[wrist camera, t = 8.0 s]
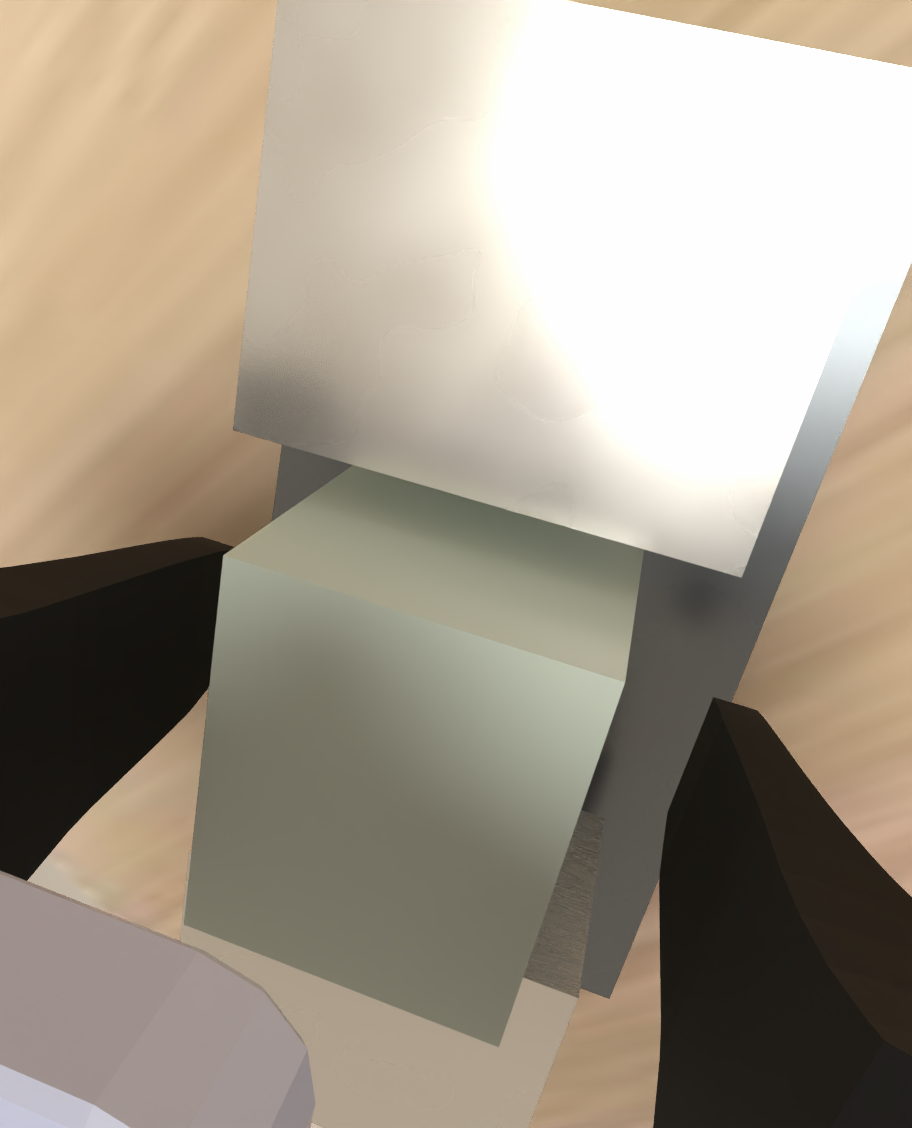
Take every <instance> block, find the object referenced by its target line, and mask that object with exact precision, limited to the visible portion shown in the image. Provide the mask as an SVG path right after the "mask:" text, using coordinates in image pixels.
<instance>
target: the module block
mask: <svg viewBox="0 0 912 1128" xmlns="http://www.w3.org/2000/svg"><path fill="white" fill-rule="evenodd" d="M643 554H644V549H641V548H638V547H634V546H631V545H627V544H624V543H620V542H617V541H613V540H610V539H607V538H603V537H600V536H596V535H593V534H589V533H586V532H582V531H579V530H575V529H572V528H569V527H565V526H562V525H558V524H555V523H551V522H548V521H544V520H541V519H538V518H534V517H531V516H527V515H524V514H520V513H517V512H513V511H510V510H507V509H503V508H500V507H496V506H493V505H489V504H486V503H482V502H479V501H476V500H472V499H469V498H465V497H462V496H458V495H455V494H451V493H448V492H444V491H441V490H438V489H434V488H431V487H427V486H424V485H420V484H417V483H413V482H410V481H407V480H403V479H400V478H396V477H393V476H389V475H386V474H382V473H379V472H376V471H372V470H369V469H365V468H362V467H358V466H355V465H353V466H351V467H350V468H348V469H347V470H346V471H344V472H343V473H341V474H340V475H338V476H337V477H335V478H334V479H333V480H331V481H330V482H328V483H327V484H325V485H324V486H322V487H321V488H320V489H318V490H317V491H315V492H314V493H312V494H311V495H309V496H308V497H307V498H305V499H304V500H302V501H301V502H299V503H298V504H297V505H295V506H294V507H292V508H291V509H289V510H288V511H286V512H285V513H284V514H282V515H281V516H279V517H278V518H276V519H275V520H273V521H272V522H271V523H269V524H268V525H266V526H265V527H263V528H262V529H260V530H259V531H258V532H256V533H255V534H253V535H252V536H250V537H249V538H247V539H246V540H245V541H243V542H242V543H240V544H239V545H237V546H236V547H235V548H233V549H232V550H230V551H229V552H227V553H226V554H224V555H223V562H222V572H221V581H220V590H219V600H218V609H217V619H216V628H215V637H214V647H213V656H212V665H211V675H210V684H209V693H208V703H207V712H206V721H205V731H204V740H203V749H202V759H201V768H200V777H199V787H198V796H197V805H196V815H195V824H194V833H193V843H192V852H191V861H190V871H189V880H188V889H187V899H186V908H185V917H184V925H186V926H189V927H191V928H194V929H196V930H199V931H202V932H204V933H207V934H209V935H212V936H214V937H217V938H219V939H222V940H225V941H227V942H230V943H232V944H235V945H237V946H240V947H243V948H245V949H248V950H250V951H253V952H255V953H258V954H260V955H263V956H266V957H268V958H271V959H273V960H276V961H278V962H281V963H284V964H286V965H289V966H291V967H294V968H296V969H299V970H301V971H304V972H307V973H309V974H312V975H314V976H317V977H319V978H322V979H324V980H327V981H330V982H332V983H335V984H337V985H340V986H342V987H345V988H348V989H350V990H353V991H355V992H358V993H360V994H363V995H365V996H368V997H371V998H373V999H376V1000H378V1001H381V1002H383V1003H386V1004H389V1005H391V1006H394V1007H396V1008H399V1009H401V1010H404V1011H406V1012H409V1013H412V1014H414V1015H417V1016H419V1017H422V1018H424V1019H427V1020H430V1021H432V1022H435V1023H437V1024H440V1025H442V1026H445V1027H447V1028H450V1029H453V1030H455V1031H458V1032H460V1033H463V1034H465V1035H468V1036H471V1037H473V1038H476V1039H478V1040H481V1041H483V1042H486V1043H488V1044H491V1045H494V1046H496V1047H499V1045H500V1043H501V1040H502V1037H503V1034H504V1031H505V1028H506V1025H507V1022H508V1019H509V1017H510V1014H511V1011H512V1008H513V1005H514V1002H515V999H516V996H517V993H518V991H519V988H520V985H521V982H522V979H523V976H524V973H525V970H526V967H527V965H528V962H529V959H530V956H531V953H532V950H533V947H534V944H535V941H536V939H537V936H538V933H539V930H540V927H541V924H542V921H543V918H544V915H545V913H546V910H547V907H548V904H549V901H550V898H551V895H552V892H553V889H554V887H555V884H556V881H557V878H558V875H559V872H560V869H561V866H562V863H563V861H564V858H565V855H566V852H567V849H568V846H569V843H570V840H571V837H572V835H573V832H574V829H575V826H576V823H577V820H578V817H579V814H580V811H581V809H582V806H583V803H584V800H585V797H586V794H587V791H588V788H589V785H590V783H591V780H592V777H593V774H594V771H595V768H596V765H597V762H598V759H599V757H600V754H601V751H602V748H603V745H604V742H605V739H606V736H607V733H608V731H609V728H610V725H611V722H612V719H613V716H614V713H615V710H616V707H617V705H618V702H619V699H620V696H621V693H622V690H623V687H624V684H625V680H626V673H627V666H628V659H629V652H630V645H631V638H632V631H633V624H634V617H635V610H636V603H637V596H638V589H639V582H640V575H641V568H642V561H643Z"/></svg>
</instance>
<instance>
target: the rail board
mask: <svg viewBox="0 0 912 1128" xmlns="http://www.w3.org/2000/svg"><path fill="white" fill-rule="evenodd" d="M911 262H912V68H909V67H904V66H899V65H894V64H889V63H883V62H878V61H873V60H868V59H863V58H858V57H853V56H847V55H842V54H837V53H832V52H827V51H822V50H817V49H812V48H806V47H801V46H796V45H791V44H786V43H781V42H776V41H770V40H765V39H760V38H755V37H750V36H745V35H740V34H734V33H729V32H724V31H719V30H714V29H709V28H704V27H698V26H693V25H688V24H683V23H678V22H673V21H668V20H663V19H657V18H652V17H647V16H642V15H637V14H632V13H627V12H621V11H616V10H611V9H606V8H601V7H596V6H591V5H585V4H580V3H575V2H570V1H565V0H278V3H277V12H276V22H275V32H274V41H273V51H272V60H271V70H270V80H269V89H268V99H267V109H266V118H265V128H264V137H263V147H262V157H261V166H260V176H259V185H258V195H257V205H256V214H255V224H254V234H253V243H252V253H251V262H250V272H249V282H248V291H247V301H246V311H245V320H244V330H243V339H242V349H241V359H240V368H239V378H238V387H237V397H236V407H235V416H234V426H233V430H234V431H238V432H241V433H245V434H248V435H251V436H255V437H258V438H262V439H265V440H269V441H272V442H276V443H279V444H282V448H281V456H280V464H279V471H278V479H277V487H276V495H275V502H274V510H273V518H272V521H273V520H275V519H276V518H278V517H279V516H281V515H282V514H284V513H285V512H286V511H288V510H289V509H291V508H292V507H294V506H295V505H297V504H298V503H299V502H301V501H302V500H304V499H305V498H307V497H308V496H309V495H311V494H312V493H314V492H315V491H317V490H318V489H320V488H321V487H322V486H324V485H325V484H327V483H328V482H330V481H331V480H333V479H334V478H335V477H337V476H338V475H340V474H341V473H343V472H344V471H346V470H347V469H348V468H350V467H351V466H353V465H355V466H358V467H362V468H365V469H369V470H372V471H376V472H379V473H382V474H386V475H389V476H393V477H396V478H400V479H403V480H407V481H410V482H413V483H417V484H420V485H424V486H427V487H431V488H434V489H438V490H441V491H444V492H448V493H451V494H455V495H458V496H462V497H465V498H469V499H472V500H476V501H479V502H482V503H486V504H489V505H493V506H496V507H500V508H503V509H507V510H510V511H513V512H517V513H520V514H524V515H527V516H531V517H534V518H538V519H541V520H544V521H548V522H551V523H555V524H558V525H562V526H565V527H569V528H572V529H575V530H579V531H582V532H586V533H589V534H593V535H596V536H600V537H603V538H607V539H610V540H613V541H617V542H620V543H624V544H627V545H631V546H634V547H638V548H641V549H644V554H643V561H642V568H641V575H640V582H639V589H638V596H637V603H636V610H635V617H634V624H633V631H632V638H631V645H630V652H629V659H628V666H627V673H626V680H625V684H624V687H623V690H622V693H621V696H620V699H619V702H618V705H617V707H616V710H615V713H614V716H613V719H612V722H611V725H610V728H609V731H608V733H607V736H606V739H605V742H604V745H603V748H602V751H601V754H600V757H599V759H598V762H597V765H596V768H595V771H594V774H593V777H592V780H591V783H590V785H589V788H588V791H587V794H586V797H585V800H584V803H583V806H582V809H581V811H580V814H579V817H578V820H577V823H576V826H575V829H574V832H573V835H572V837H571V840H570V843H569V846H568V849H567V852H566V855H565V858H564V861H563V863H562V866H561V869H560V872H559V875H558V878H557V881H556V884H555V887H554V889H553V892H552V895H551V898H550V901H549V904H548V907H547V910H546V913H545V915H544V918H543V921H542V924H541V927H540V930H539V933H538V936H537V939H536V941H535V944H534V947H533V950H532V953H531V956H530V959H529V962H528V965H527V967H526V970H525V973H524V976H523V979H522V982H521V985H520V988H519V991H518V993H517V996H516V999H515V1002H514V1005H513V1008H512V1011H511V1014H510V1017H509V1019H508V1022H507V1025H506V1028H505V1031H504V1034H503V1037H502V1040H501V1043H500V1045H499V1047H496V1046H494V1045H491V1044H488V1043H486V1042H483V1041H481V1040H478V1039H476V1038H473V1037H471V1036H468V1035H465V1034H463V1033H460V1032H458V1031H455V1030H453V1029H450V1028H447V1027H445V1026H442V1025H440V1024H437V1023H435V1022H432V1021H430V1020H427V1019H424V1018H422V1017H419V1016H417V1015H414V1014H412V1013H409V1012H406V1011H404V1010H401V1009H399V1008H396V1007H394V1006H391V1005H389V1004H386V1003H383V1002H381V1001H378V1000H376V999H373V998H371V997H368V996H365V995H363V994H360V993H358V992H355V991H353V990H350V989H348V988H345V987H342V986H340V985H337V984H335V983H332V982H330V981H327V980H324V979H322V978H319V977H317V976H314V975H312V974H309V973H307V972H304V971H301V970H299V969H296V968H294V967H291V966H289V965H286V964H284V963H281V962H278V961H276V960H273V959H271V958H268V957H266V956H263V955H260V954H258V953H255V952H253V951H250V950H248V949H245V948H243V947H240V946H237V945H235V944H232V943H230V942H227V941H225V940H222V939H219V938H217V937H214V936H212V935H209V934H207V933H204V932H202V931H199V930H196V929H194V928H191V927H189V926H186V925H184V917H185V908H186V899H187V889H188V880H189V871H190V861H191V852H192V850H191V851H190V852H189V859H188V868H187V878H186V888H185V897H184V907H183V917H182V926H181V936H180V941H181V942H183V943H186V944H188V945H191V946H193V947H196V948H198V949H201V950H204V951H206V952H207V953H209V954H211V955H212V956H214V957H215V958H217V959H219V960H220V961H222V962H223V963H225V964H227V965H228V966H230V967H232V968H233V969H235V970H236V971H238V972H240V973H241V974H243V975H245V976H246V977H248V978H249V979H251V980H253V981H254V982H256V983H257V984H259V985H261V986H262V987H263V988H264V989H265V990H266V992H267V993H268V994H269V996H270V997H271V998H272V999H273V1001H274V1002H275V1003H276V1005H277V1006H278V1007H279V1009H280V1010H281V1011H282V1013H283V1014H284V1015H285V1017H286V1018H287V1019H288V1020H289V1022H290V1023H291V1024H292V1026H293V1027H294V1028H295V1030H296V1031H297V1032H298V1034H299V1035H300V1036H301V1038H302V1040H303V1042H304V1044H305V1045H306V1047H307V1049H308V1056H309V1062H310V1069H311V1076H312V1083H313V1090H314V1096H315V1103H316V1104H315V1108H314V1113H313V1117H312V1123H315V1124H317V1125H319V1126H322V1127H324V1128H528V1127H529V1124H530V1122H531V1119H532V1117H533V1114H534V1111H535V1109H536V1106H537V1104H538V1101H539V1099H540V1096H541V1093H542V1091H543V1088H544V1086H545V1083H546V1080H547V1078H548V1075H549V1073H550V1070H551V1068H552V1065H553V1062H554V1060H555V1057H556V1055H557V1052H558V1050H559V1047H560V1044H561V1042H562V1039H563V1037H564V1034H565V1032H566V1029H567V1026H568V1024H569V1021H570V1019H571V1016H572V1013H573V1011H574V1008H575V1006H576V1003H577V1001H578V998H579V991H580V988H582V989H584V990H587V991H590V992H592V993H595V994H598V995H600V996H603V997H606V998H609V999H610V996H611V994H612V992H613V989H614V987H615V984H616V982H617V979H618V977H619V974H620V972H621V970H622V967H623V965H624V962H625V960H626V957H627V955H628V952H629V950H630V948H631V945H632V943H633V940H634V938H635V935H636V933H637V931H638V928H639V926H640V923H641V921H642V918H643V916H644V913H645V911H646V909H647V906H648V904H649V901H650V899H651V896H652V894H653V892H654V889H655V887H656V884H657V882H658V879H659V877H660V866H661V857H662V849H663V841H664V834H665V826H666V819H667V812H668V810H669V807H670V805H671V802H672V799H673V797H674V794H675V792H676V789H677V787H678V784H679V782H680V779H681V777H682V774H683V772H684V769H685V767H686V764H687V762H688V759H689V757H690V754H691V752H692V749H693V747H694V744H695V742H696V739H697V737H698V734H699V732H700V729H701V727H702V724H703V722H704V719H705V717H706V714H707V712H708V709H709V707H710V704H711V702H712V699H713V697H715V698H718V699H722V700H725V701H728V702H731V701H732V699H733V696H734V694H735V691H736V689H737V687H738V684H739V682H740V679H741V677H742V674H743V672H744V670H745V667H746V665H747V662H748V660H749V657H750V655H751V652H752V650H753V648H754V645H755V643H756V640H757V638H758V635H759V633H760V631H761V628H762V626H763V623H764V621H765V618H766V616H767V613H768V611H769V609H770V606H771V604H772V601H773V599H774V596H775V594H776V591H777V589H778V587H779V584H780V582H781V579H782V577H783V574H784V572H785V570H786V567H787V565H788V562H789V560H790V557H791V555H792V552H793V550H794V548H795V545H796V543H797V540H798V538H799V535H800V533H801V531H802V528H803V526H804V523H805V521H806V518H807V516H808V513H809V511H810V509H811V506H812V504H813V501H814V499H815V496H816V494H817V491H818V489H819V487H820V484H821V482H822V479H823V477H824V474H825V472H826V470H827V467H828V465H829V462H830V460H831V457H832V455H833V452H834V450H835V448H836V445H837V443H838V440H839V438H840V435H841V433H842V431H843V428H844V426H845V423H846V421H847V418H848V416H849V413H850V411H851V409H852V406H853V404H854V401H855V399H856V396H857V394H858V391H859V389H860V387H861V384H862V382H863V379H864V377H865V374H866V372H867V370H868V367H869V365H870V362H871V360H872V357H873V355H874V352H875V350H876V348H877V345H878V343H879V340H880V338H881V335H882V333H883V330H884V328H885V326H886V323H887V321H888V318H889V316H890V313H891V311H892V309H893V306H894V304H895V301H896V299H897V296H898V294H899V291H900V289H901V287H902V284H903V282H904V279H905V277H906V274H907V272H908V270H909V267H910V265H911Z"/></svg>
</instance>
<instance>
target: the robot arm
mask: <svg viewBox="0 0 912 1128" xmlns="http://www.w3.org/2000/svg"><path fill="white" fill-rule="evenodd" d="M233 548H235V547H232V546H229V545H226V544H223V543H219V542H216V541H213V540H210V539H207V538H203V537H196V538H182V539H175V540H168V541H161V542H156V543H150V544H144V545H139V546H133V547H128V548H122V549H117V550H111V551H106V552H100V553H95V554H89V555H84V556H78V557H72V558H65V559H59V560H52V561H45V562H39V563H32V564H26V565H19V566H12V567H4V568H0V1128H310V1127H311V1122H312V1117H313V1113H314V1108H315V1104H316V1103H315V1096H314V1090H313V1083H312V1076H311V1069H310V1062H309V1056H308V1049H307V1047H306V1045H305V1044H304V1042H303V1040H302V1038H301V1036H300V1035H299V1034H298V1032H297V1031H296V1030H295V1028H294V1027H293V1026H292V1024H291V1023H290V1022H289V1020H288V1019H287V1018H286V1017H285V1015H284V1014H283V1013H282V1011H281V1010H280V1009H279V1007H278V1006H277V1005H276V1003H275V1002H274V1001H273V999H272V998H271V997H270V996H269V994H268V993H267V992H266V990H265V989H264V988H263V987H262V986H261V985H259V984H257V983H256V982H254V981H253V980H251V979H249V978H248V977H246V976H245V975H243V974H241V973H240V972H238V971H236V970H235V969H233V968H232V967H230V966H228V965H227V964H225V963H223V962H222V961H220V960H219V959H217V958H215V957H214V956H212V955H211V954H209V953H207V952H206V951H204V950H201V949H198V948H196V947H193V946H191V945H188V944H186V943H183V942H181V941H178V940H176V939H173V938H171V937H168V936H165V935H163V934H160V933H158V932H155V931H153V930H150V929H148V928H145V927H142V926H140V925H137V924H135V923H132V922H130V921H127V920H125V919H122V918H120V917H117V916H114V915H112V914H109V913H107V912H104V911H102V910H99V909H97V908H94V907H92V906H89V905H86V904H84V903H81V902H79V901H76V900H74V899H71V898H69V897H66V896H63V895H61V894H58V893H56V892H53V891H51V890H48V889H46V888H43V887H41V886H38V885H35V884H33V883H30V882H28V881H27V880H28V879H29V878H30V877H31V875H32V874H33V873H34V872H35V871H36V869H37V868H38V867H39V866H40V865H41V863H42V862H43V861H44V860H45V859H46V857H47V856H48V855H49V854H50V853H51V851H52V850H53V849H54V848H55V847H56V845H57V844H58V843H59V842H60V841H61V839H62V838H63V837H64V836H65V835H66V833H67V832H68V831H69V830H70V829H71V828H72V827H73V826H74V825H75V824H76V823H77V822H78V821H79V820H80V818H81V817H82V816H83V815H84V814H85V813H86V812H87V811H88V810H89V809H90V808H91V807H92V806H93V805H94V804H95V803H96V802H97V801H98V800H99V799H100V798H101V797H102V796H103V795H104V794H106V793H107V792H108V791H109V790H110V789H111V788H112V787H113V786H114V785H115V784H116V783H117V782H118V781H119V780H120V779H121V778H122V777H123V776H124V775H125V774H126V773H127V772H128V771H129V770H130V769H131V768H132V767H134V766H135V765H136V764H137V763H138V762H139V761H140V760H141V759H142V758H143V757H144V756H145V755H146V754H147V753H148V752H149V751H150V750H151V749H152V748H153V747H154V746H155V745H156V744H157V743H158V742H159V741H160V740H161V739H162V738H163V737H164V736H165V735H166V734H168V733H169V732H170V731H171V730H172V729H173V728H174V727H175V726H176V725H177V724H178V723H179V722H180V721H181V720H182V719H183V718H184V717H185V716H186V715H187V714H188V713H189V712H190V710H191V709H192V708H193V707H194V705H195V704H196V703H197V702H198V700H199V699H200V698H201V696H202V695H203V694H204V693H205V691H206V690H207V689H208V687H209V684H210V675H211V665H212V656H213V647H214V637H215V628H216V619H217V609H218V600H219V590H220V581H221V572H222V562H223V555H224V554H226V553H227V552H229V551H230V550H232V549H233ZM659 893H660V978H661V1041H660V1062H659V1072H658V1083H657V1094H656V1104H655V1115H654V1126H653V1128H912V897H911V896H910V895H909V894H908V893H907V892H906V891H905V890H904V889H903V888H902V887H901V886H900V885H899V884H898V883H897V882H896V881H895V880H894V879H893V878H892V877H891V876H890V875H889V874H888V873H887V872H886V871H885V870H884V869H883V868H882V867H881V866H880V865H879V864H878V863H877V861H876V860H875V859H874V858H873V857H872V856H871V855H870V854H869V852H868V851H867V850H866V849H865V848H864V847H863V845H862V844H861V843H860V842H859V841H858V840H857V839H856V837H855V836H854V835H853V834H852V833H851V832H850V830H849V829H848V828H847V827H846V826H845V825H844V823H843V822H842V821H841V820H840V818H839V817H838V816H837V815H836V814H835V812H834V811H833V810H832V809H831V807H830V806H829V805H828V804H827V802H826V801H825V800H824V798H823V797H822V796H821V795H820V793H819V792H818V791H817V789H816V788H815V787H814V785H813V784H812V783H811V781H810V780H809V779H808V777H807V776H806V775H805V773H804V772H803V771H802V769H801V768H800V767H799V765H798V764H797V762H796V761H795V760H794V758H793V757H792V756H791V754H790V753H789V751H788V750H787V749H786V747H785V746H784V744H783V743H782V742H781V740H780V739H779V738H778V736H777V735H776V733H775V732H774V731H773V729H772V728H771V727H770V725H769V724H768V723H767V721H766V720H765V719H764V717H763V716H762V715H761V714H760V713H759V712H758V711H757V710H754V709H750V708H747V707H744V706H741V705H738V704H734V703H731V702H728V701H725V700H722V699H718V698H715V697H713V699H712V702H711V704H710V707H709V709H708V712H707V714H706V717H705V719H704V722H703V724H702V727H701V729H700V732H699V734H698V737H697V739H696V742H695V744H694V747H693V749H692V752H691V754H690V757H689V759H688V762H687V764H686V767H685V769H684V772H683V774H682V777H681V779H680V782H679V784H678V787H677V789H676V792H675V794H674V797H673V799H672V802H671V805H670V807H669V810H668V812H667V819H666V826H665V834H664V841H663V849H662V857H661V866H660V881H659Z"/></svg>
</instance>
